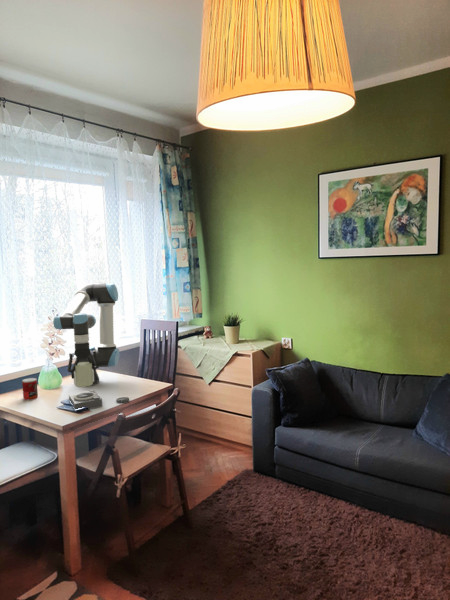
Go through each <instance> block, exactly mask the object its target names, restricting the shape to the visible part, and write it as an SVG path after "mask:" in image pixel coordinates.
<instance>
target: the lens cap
mask: <svg viewBox="0 0 450 600" xmlns="http://www.w3.org/2000/svg"><path fill="white" fill-rule="evenodd" d="M129 402H130V397H128V396H121V397H118V398H116V404H127V403H129Z"/></svg>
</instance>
